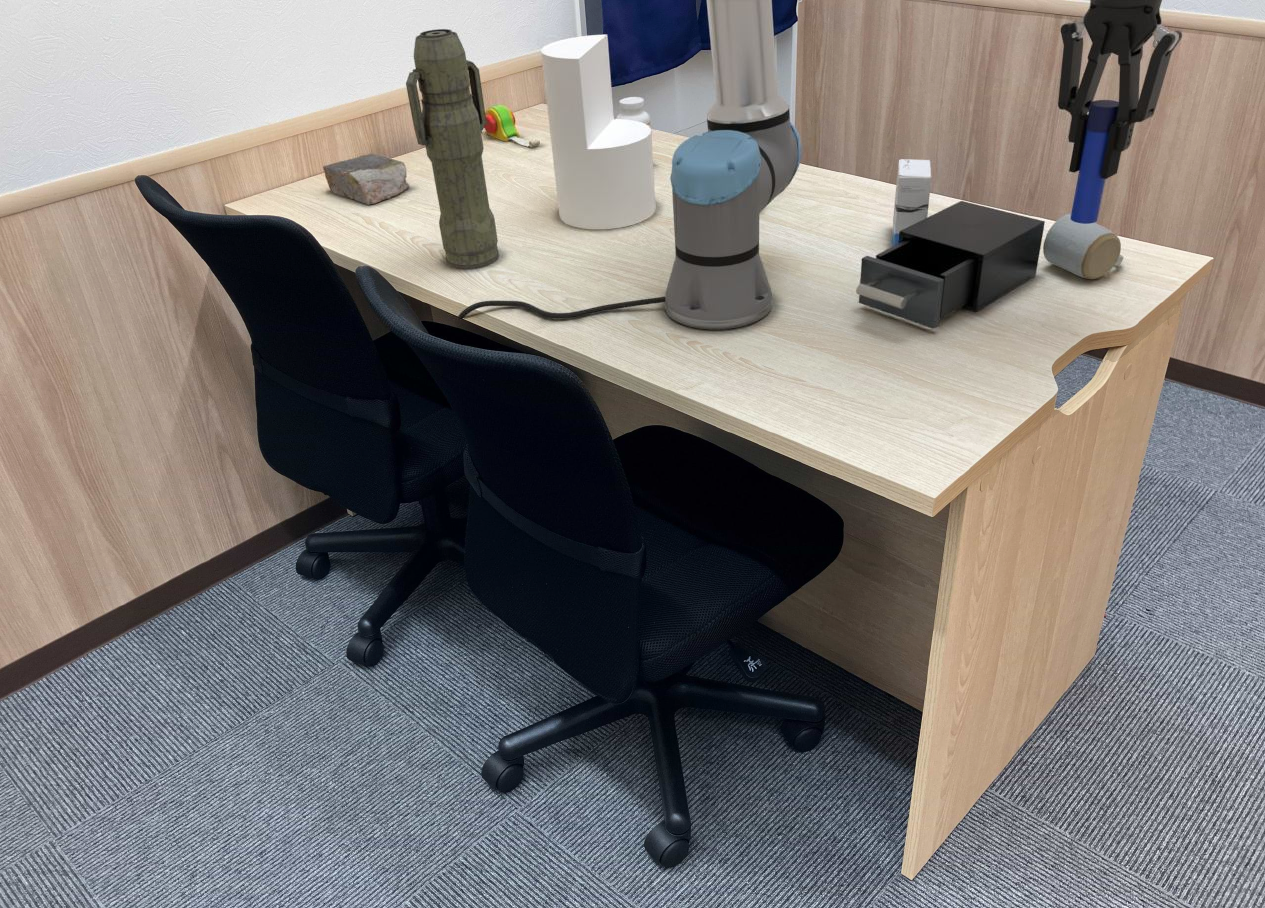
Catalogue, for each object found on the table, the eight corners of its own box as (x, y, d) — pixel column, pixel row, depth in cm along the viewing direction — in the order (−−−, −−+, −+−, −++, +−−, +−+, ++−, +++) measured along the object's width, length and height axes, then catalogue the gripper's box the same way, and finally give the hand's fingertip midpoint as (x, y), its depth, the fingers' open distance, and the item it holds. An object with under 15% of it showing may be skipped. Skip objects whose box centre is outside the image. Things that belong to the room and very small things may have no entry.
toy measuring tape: (498, 128, 227) (494, 98, 223) (548, 143, 214) (544, 112, 211) (474, 134, 224) (469, 104, 220) (524, 151, 211) (520, 119, 207)
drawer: (914, 340, 129) (919, 293, 125) (839, 313, 137) (841, 267, 133) (993, 293, 139) (1000, 247, 135) (919, 270, 147) (923, 226, 143)
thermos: (517, 252, 165) (486, 26, 145) (463, 276, 158) (422, 43, 138) (482, 241, 170) (448, 22, 151) (428, 264, 163) (384, 37, 144)
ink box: (925, 250, 154) (932, 176, 148) (892, 250, 155) (898, 176, 149) (923, 230, 161) (930, 157, 155) (891, 229, 162) (897, 158, 156)
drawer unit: (976, 312, 136) (984, 255, 132) (894, 286, 145) (899, 231, 140) (1035, 276, 144) (1045, 221, 140) (954, 253, 153) (961, 200, 148)
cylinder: (546, 228, 173) (526, 59, 158) (574, 193, 187) (558, 35, 171) (643, 230, 169) (632, 57, 154) (664, 195, 183) (656, 33, 167)
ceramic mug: (1080, 287, 140) (1091, 235, 136) (1037, 267, 147) (1047, 217, 142) (1135, 271, 144) (1148, 220, 140) (1091, 252, 150) (1102, 203, 146)
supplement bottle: (615, 164, 199) (610, 98, 192) (646, 159, 201) (642, 93, 193) (624, 174, 194) (620, 106, 187) (657, 168, 195) (653, 101, 188)
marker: (1089, 226, 126) (1112, 108, 118) (1064, 220, 128) (1085, 104, 120) (1103, 218, 127) (1126, 102, 119) (1077, 212, 130) (1099, 98, 122)
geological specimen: (367, 151, 201) (410, 160, 192) (373, 181, 204) (416, 191, 195) (320, 164, 195) (362, 174, 185) (328, 195, 198) (369, 206, 188)
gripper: (1223, -36, 108) (1173, 177, 121) (1079, -44, 118) (1047, 152, 132) (1192, -25, 104) (1144, 194, 117) (1045, -34, 115) (1016, 167, 128)
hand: (1092, 171), depth 124 cm, fingers closed on marker, 3 cm apart
